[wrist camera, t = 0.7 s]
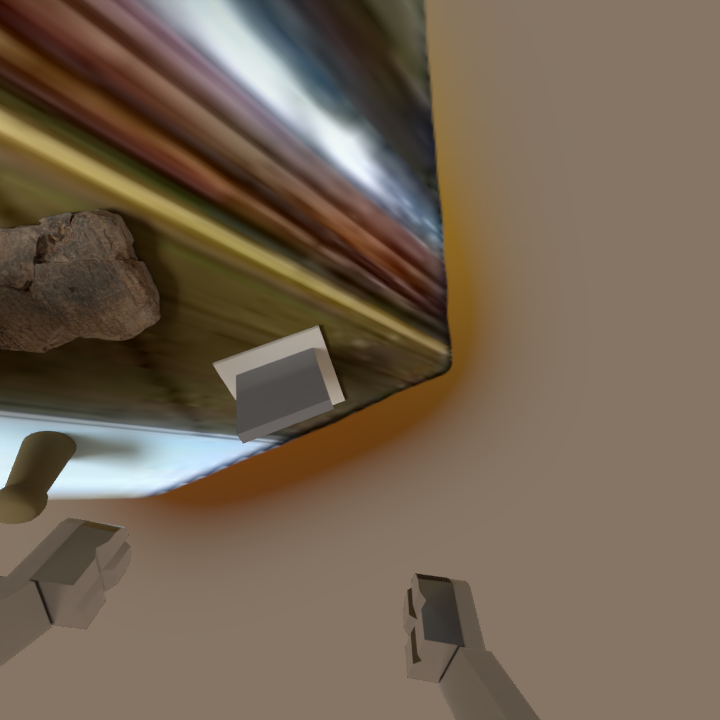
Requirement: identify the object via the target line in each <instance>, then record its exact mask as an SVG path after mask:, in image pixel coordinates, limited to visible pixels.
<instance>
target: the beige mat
mask: <svg viewBox="0 0 720 720" xmlns="http://www.w3.org/2000/svg"><path fill="white" fill-rule="evenodd" d="M310 348H313V351H314V353H315V356H316V359H317V362H318V364H319V367H320V370H321V373H322V376H323V379H324V382H325V385H326V388H327V391H328V393H329V396H330V399H331V402H332V405H334V404H337V403H340V402H342V401H345V399H344V396H343V393H342V391H341V388H340V385H339V382H338V379H337V376H336V374H335V371H334V368H333V365H332V362H331V359H330V357H329V354H328V351H327V348H326V345H325V343H324V340H323V337H322V334H321V331H320V328H319V326H318V325H317V326H315V327H312V328H309V329H306V330H303V331H301V332H298V333H295V334H292V335H289V336H287V337H284V338H281V339H278V340H275V341H273V342H270V343H267V344H264V345H261V346H259V347H256V348H253V349H250V350H247V351H244V352H242V353H239V354H236V355H233V356H230V357H228V358H225V359H222V360H219V361H216V362H214V363H213V366H214V367H215V369H216V371H217V372H218V374H219V375H220V377H221V378H222V380H223V381H224V383H225V384H226V386H227V387H228V389H229V390H230V392H231V393H232V395H233V397H234V398H235V400H236V375H238V374H241V373H244V372H246V371H249V370H252V369H255V368H257V367H260V366H263V365H266V364H268V363H271V362H274V361H277V360H279V359H282V358H285V357H288V356H290V355H293V354H296V353H299V352H302V351H304V350H307V349H310Z"/></svg>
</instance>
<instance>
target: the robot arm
mask: <svg viewBox="0 0 720 720" xmlns="http://www.w3.org/2000/svg"><path fill="white" fill-rule="evenodd" d="M128 536H129V534H128V530H127V528H126V527H120V526H114V525H108V524H102V523H95V522H90V521H86V520H79V519H73V518H68V519H66V520H64V521H63V522H61V523H60V524H59V525H58V526H57V527H56V528H55V529H54V530H53V531H52V532H51V533H50V534H49V535H48V536H47V537H46V538H45V539H44V540H43V541H42V542H41V543H40V544H39V545H38V546H37V547H36V548H35V549H34V550H33V551H32V552H31V553H30V554H29V555H28V556H27V557H26V558H25V559H24V560H23V561H22V562H21V563H20V564H19V565H18V566H17V567H16V568H15V569H14V570H13V571H12V572H11V573H10V574H9V575H8V576H7V577H4V576H0V666H2V665H3V664H4V663H6V662H7V661H8V660H10V659H11V658H12V657H14V656H15V655H16V654H18V653H19V652H20V651H22V650H23V649H24V648H25V647H27V646H28V645H29V644H31V643H32V642H33V641H35V640H36V639H37V638H39V637H40V636H41V635H43V634H44V633H45V632H46V631H48V630H49V629H50V628H51V627H52V626H51V625H54V626H62V627H71V628H79V629H87V628H88V626H89V625H90V624H91V622H92V621H93V619H94V618H95V616H96V615H97V613H98V612H99V610H100V609H101V607H102V606H103V605H104V603H105V602H106V591H107V590H109V589H110V588H112V587H113V586H115V585H117V584H118V582H119V581H120V580H121V578H122V576H123V575H124V573H125V572H126V569H127V567H128V565H129V562H130V559H131V546H130V545H129V544H128V543H127V542H126V541H125V540H126V539H127V537H128ZM411 585H412V588H410V589H409V590H407V593H406V596H405V601H404V609H403V613H404V614H403V620H404V629H405V630H406V632H407V634H408V636H409V639H408V641H407V644H406V646H405V653H406V667H407V678H412V679H418V680H423V681H428V682H434V683H439V688H440V690H441V692H442V694H443V696H444V698H445V700H446V702H447V704H448V706H449V708H450V710H451V712H452V714H453V716H454V718H455V720H540V719H539V717H538V716H537V715H536V713H535V712H534V710H533V709H532V708H531V706H530V705H529V703H528V702H527V701H526V699H525V698H524V696H523V695H522V694H521V693H520V691H519V690H518V688H517V687H516V685H515V684H514V683H513V681H512V680H511V679H510V677H509V676H508V674H507V673H506V671H505V670H504V669H503V667H502V666H501V664H500V663H499V662H498V660H497V659H496V658H495V656H494V655H493V653H492V652H490V651H486V649H485V645H484V641H483V637H482V633H481V629H480V625H479V621H478V617H477V613H476V608H475V605H474V600H473V596H472V592H471V588H470V586H469V584H468V583H467V582H466V581H462V580H455V579H449V578H445V577H438V576H431V575H423V574H414V575H413V577H412V579H411Z"/></svg>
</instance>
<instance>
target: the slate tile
mask: <svg viewBox="0 0 720 720" xmlns="http://www.w3.org/2000/svg"><path fill="white" fill-rule="evenodd" d="M332 409H334V408H333V405H332V402H331V399H330V396H329V393H328V391H327V388H326V385H325V382H324V379H323V376H322V373H321V370H320V367H319V364H318V362H317V359H316V356H315V353H314V351H313V348H310V349H307V350H304V351H302V352H299V353H296V354H293V355H290V356H288V357H285V358H282V359H279V360H277V361H274V362H271V363H268V364H266V365H263V366H260V367H257V368H255V369H252V370H249V371H246V372H244V373H241V374H238V375H236V410H237V435H238V437H239V438H240V440H241V441H242V442H243V443H246V442H248V441H251V440H254V439H256V438H259V437H262V436H264V435H267V434H269V433H272V432H275V431H277V430H280V429H282V428H285V427H288V426H290V425H293V424H295V423H298V422H301V421H303V420H306V419H308V418H311V417H314V416H316V415H319V414H321V413H324V412H327V411H329V410H332Z"/></svg>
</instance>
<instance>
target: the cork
mask: <svg viewBox="0 0 720 720" xmlns="http://www.w3.org/2000/svg"><path fill="white" fill-rule="evenodd" d="M75 451H76V444H75V442H74V441H73V440H72V439H71V438H70V437H68V436H66V435H64V434H61V433H58V432H52V431H42V432H36V433H33V434H30V435H29V436H27V437H25V439H24V440H23V442H22V444H21V447H20V449H19V452H18V455H17V457H16V460H15V462H14V465H13V467H12V470H11V473H10V475H9V478H8V480H7V483H6V485H5V487H4V488H3V489H1V490H0V522H2V523H7V524H19V523H25V522H28V521H31V520H32V519H34V518H36V517H37V516H39V515H40V513H41V512H42V511H43V510H44V509H45V507H46V505H47V499H48V495H47V492H48V490H49V489H50V487H51V486H52V484H53V483H54V481H55V480H56V478H57V477H58V475H59V474H60V473H61V471H62V470H63V468H64V467H65V465H66V464H67V462H68V461H69V459H70V458H71V456H72V455H73V453H74V452H75Z"/></svg>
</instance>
